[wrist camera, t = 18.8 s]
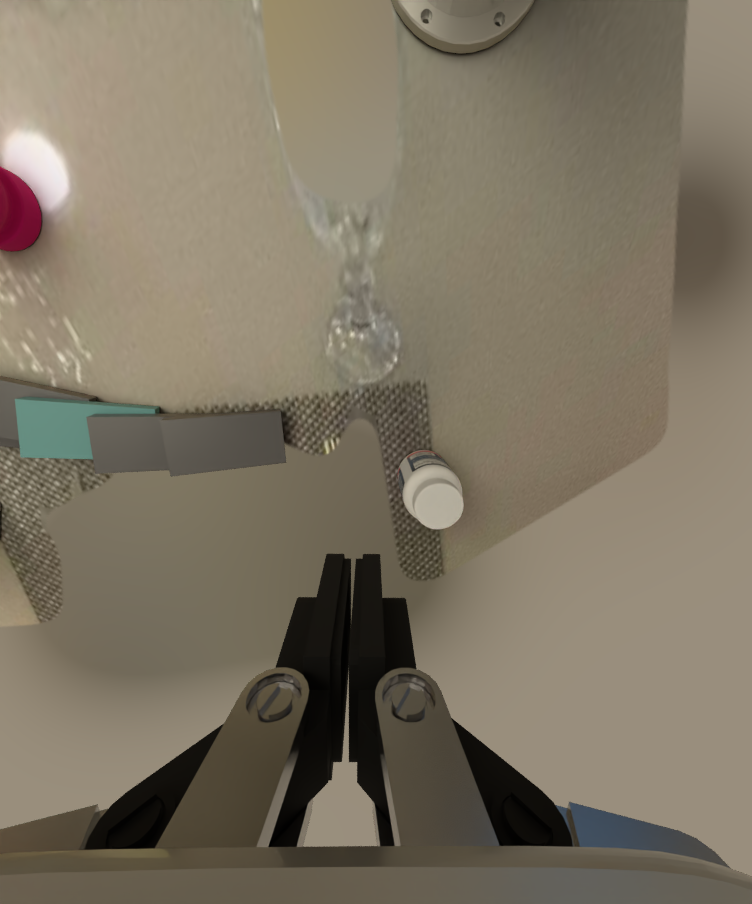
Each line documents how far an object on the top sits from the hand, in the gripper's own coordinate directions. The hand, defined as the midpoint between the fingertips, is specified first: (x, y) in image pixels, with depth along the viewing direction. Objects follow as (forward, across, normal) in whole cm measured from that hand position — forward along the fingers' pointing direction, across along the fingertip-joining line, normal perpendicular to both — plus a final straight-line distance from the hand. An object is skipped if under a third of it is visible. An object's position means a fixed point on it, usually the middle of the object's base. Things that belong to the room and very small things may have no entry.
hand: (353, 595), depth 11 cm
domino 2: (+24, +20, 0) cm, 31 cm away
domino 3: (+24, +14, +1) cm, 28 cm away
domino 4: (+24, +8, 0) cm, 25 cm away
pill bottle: (+25, -6, +4) cm, 26 cm away
